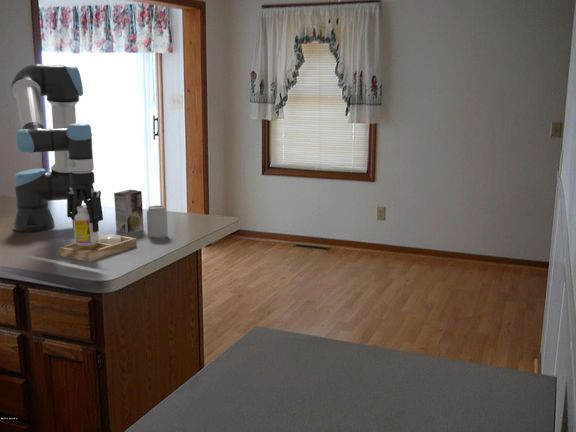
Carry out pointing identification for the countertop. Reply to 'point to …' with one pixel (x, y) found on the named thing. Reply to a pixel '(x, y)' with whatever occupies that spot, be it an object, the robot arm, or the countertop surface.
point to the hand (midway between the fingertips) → (86, 239)
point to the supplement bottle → (83, 227)
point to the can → (157, 221)
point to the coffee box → (129, 211)
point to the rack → (96, 249)
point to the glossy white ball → (109, 239)
